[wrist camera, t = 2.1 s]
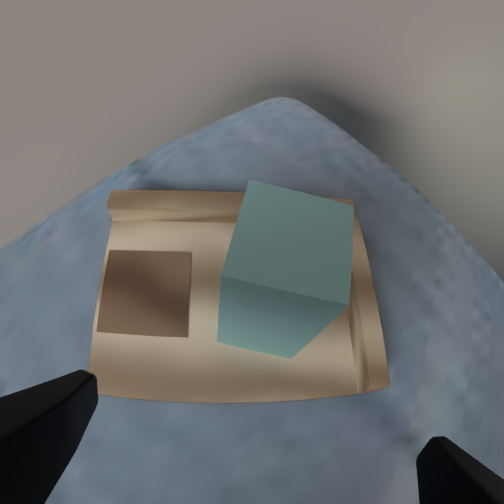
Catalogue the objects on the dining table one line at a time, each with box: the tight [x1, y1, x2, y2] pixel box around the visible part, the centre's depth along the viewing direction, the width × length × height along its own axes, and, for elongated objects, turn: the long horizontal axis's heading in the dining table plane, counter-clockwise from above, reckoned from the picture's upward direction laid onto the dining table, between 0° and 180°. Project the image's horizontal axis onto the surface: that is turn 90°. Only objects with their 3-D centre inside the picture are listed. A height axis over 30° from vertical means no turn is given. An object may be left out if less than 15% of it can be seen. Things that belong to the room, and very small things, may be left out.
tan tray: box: [89, 190, 390, 403], centre depth 22 cm, size 15×20×2 cm
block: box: [217, 179, 354, 359], centre depth 17 cm, size 5×5×10 cm
